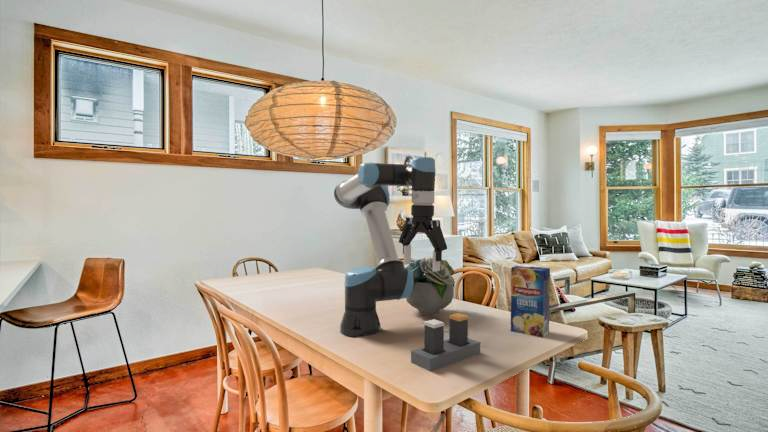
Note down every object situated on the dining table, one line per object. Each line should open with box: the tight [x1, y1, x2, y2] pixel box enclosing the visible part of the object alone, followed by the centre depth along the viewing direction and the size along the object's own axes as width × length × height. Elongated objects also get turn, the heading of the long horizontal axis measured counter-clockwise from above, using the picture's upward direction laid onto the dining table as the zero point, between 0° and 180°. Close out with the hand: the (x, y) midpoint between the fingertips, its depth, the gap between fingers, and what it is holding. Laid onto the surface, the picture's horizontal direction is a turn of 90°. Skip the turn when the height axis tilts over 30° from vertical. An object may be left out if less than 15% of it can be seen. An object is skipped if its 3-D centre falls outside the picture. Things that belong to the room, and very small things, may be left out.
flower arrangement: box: [405, 257, 456, 316], centre depth 176 cm, size 25×25×24 cm
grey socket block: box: [410, 337, 481, 372], centre depth 124 cm, size 8×22×4 cm, turn 128°
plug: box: [448, 312, 469, 347], centre depth 127 cm, size 4×4×12 cm
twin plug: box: [423, 318, 445, 355], centre depth 120 cm, size 4×4×12 cm
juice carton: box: [510, 264, 551, 338], centre depth 151 cm, size 12×8×24 cm, turn 53°
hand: (421, 267), depth 137 cm, fingers open, 13 cm apart
